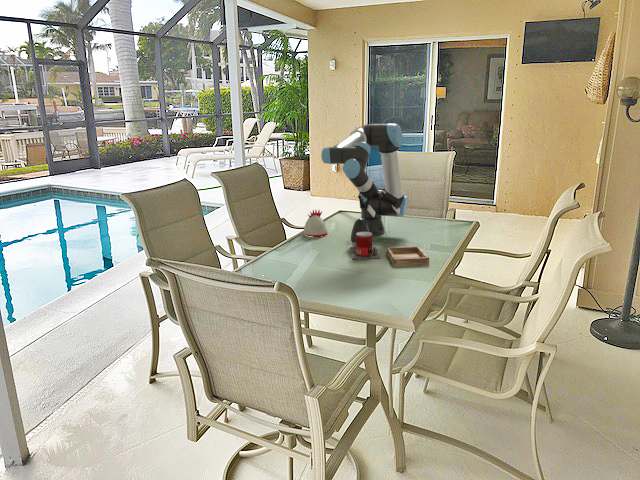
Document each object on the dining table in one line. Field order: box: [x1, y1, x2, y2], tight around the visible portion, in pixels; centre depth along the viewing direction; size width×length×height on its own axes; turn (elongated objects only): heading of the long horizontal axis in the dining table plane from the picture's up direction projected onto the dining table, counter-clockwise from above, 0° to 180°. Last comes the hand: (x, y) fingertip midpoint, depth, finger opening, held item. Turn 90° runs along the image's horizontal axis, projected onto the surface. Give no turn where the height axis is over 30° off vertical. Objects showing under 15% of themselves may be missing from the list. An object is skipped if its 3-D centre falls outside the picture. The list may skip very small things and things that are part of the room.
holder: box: [348, 245, 381, 261], centre depth 241 cm, size 14×14×4 cm
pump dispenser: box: [350, 217, 369, 248], centre depth 254 cm, size 10×10×15 cm
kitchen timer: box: [303, 209, 328, 238], centre depth 282 cm, size 14×14×15 cm
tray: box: [386, 245, 430, 267], centre depth 232 cm, size 20×16×3 cm
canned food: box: [355, 232, 373, 257], centre depth 240 cm, size 8×8×11 cm
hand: (386, 213), depth 235 cm, fingers open, 13 cm apart
